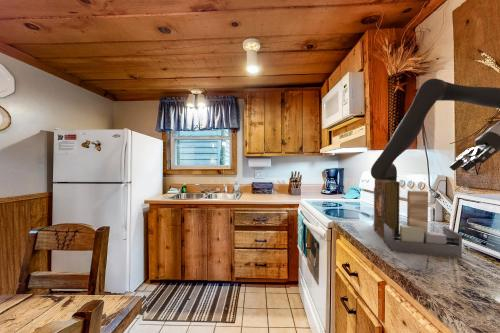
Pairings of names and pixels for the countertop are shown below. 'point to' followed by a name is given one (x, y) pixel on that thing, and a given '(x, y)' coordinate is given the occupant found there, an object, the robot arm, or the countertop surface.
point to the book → (386, 205)
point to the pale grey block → (434, 238)
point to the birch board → (417, 209)
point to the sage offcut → (411, 234)
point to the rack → (425, 244)
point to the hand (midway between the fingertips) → (457, 169)
